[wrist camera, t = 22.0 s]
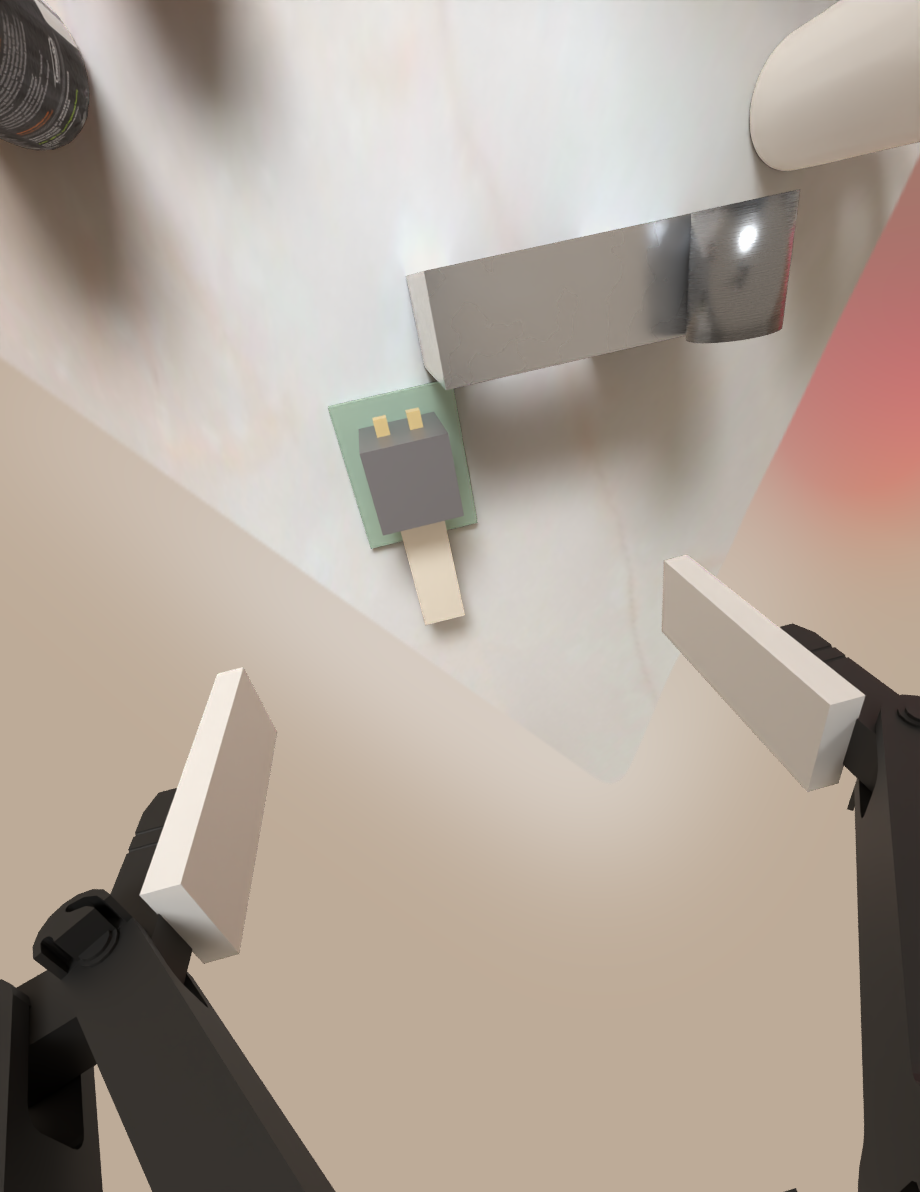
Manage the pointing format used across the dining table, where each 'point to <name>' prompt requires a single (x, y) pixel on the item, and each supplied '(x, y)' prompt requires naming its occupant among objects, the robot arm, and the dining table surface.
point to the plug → (417, 502)
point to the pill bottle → (39, 77)
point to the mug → (840, 86)
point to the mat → (394, 406)
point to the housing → (608, 292)
